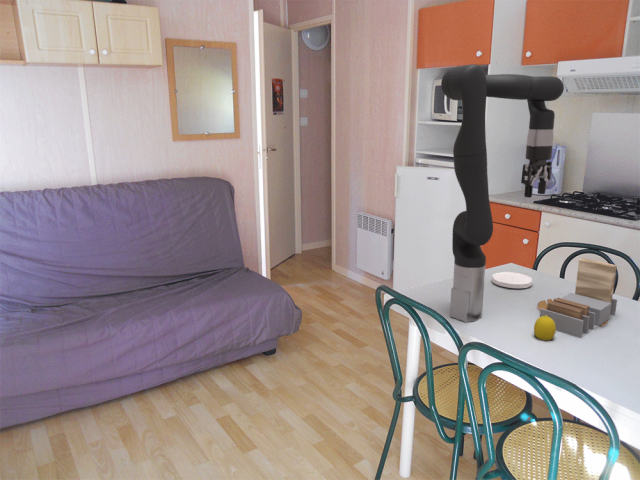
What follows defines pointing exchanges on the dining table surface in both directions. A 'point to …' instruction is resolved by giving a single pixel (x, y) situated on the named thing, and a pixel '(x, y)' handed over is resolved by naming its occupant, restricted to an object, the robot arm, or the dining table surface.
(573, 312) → the offcut front
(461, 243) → the robot arm
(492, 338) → the dining table surface
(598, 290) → the wooden block
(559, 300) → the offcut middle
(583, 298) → the rack
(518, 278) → the plastic lid
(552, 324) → the lemon
